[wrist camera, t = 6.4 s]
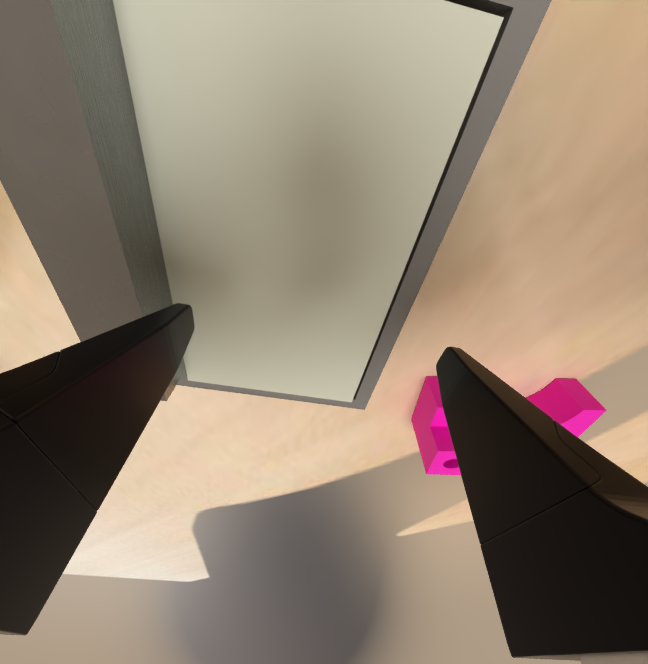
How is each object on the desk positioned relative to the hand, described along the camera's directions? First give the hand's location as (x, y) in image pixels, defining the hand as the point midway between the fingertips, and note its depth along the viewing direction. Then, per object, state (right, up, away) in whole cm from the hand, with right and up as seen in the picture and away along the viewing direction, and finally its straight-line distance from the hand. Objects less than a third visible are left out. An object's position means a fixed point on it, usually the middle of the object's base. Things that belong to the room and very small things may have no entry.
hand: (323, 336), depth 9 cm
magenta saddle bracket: (+18, -13, +20) cm, 30 cm away
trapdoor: (-3, +4, +4) cm, 6 cm away
